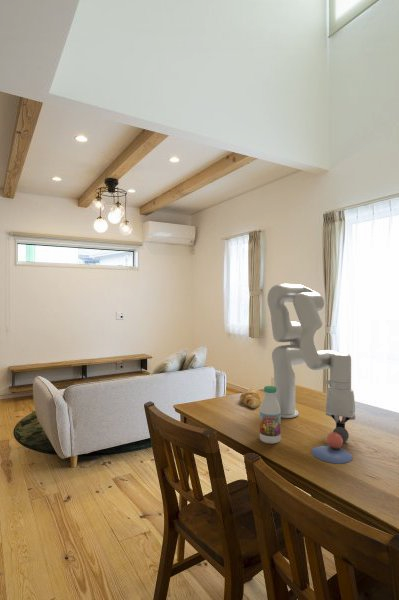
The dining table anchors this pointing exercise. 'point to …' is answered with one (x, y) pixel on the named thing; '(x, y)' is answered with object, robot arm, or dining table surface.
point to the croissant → (250, 398)
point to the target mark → (331, 454)
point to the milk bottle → (270, 417)
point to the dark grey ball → (342, 433)
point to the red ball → (334, 440)
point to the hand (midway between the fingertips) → (340, 432)
